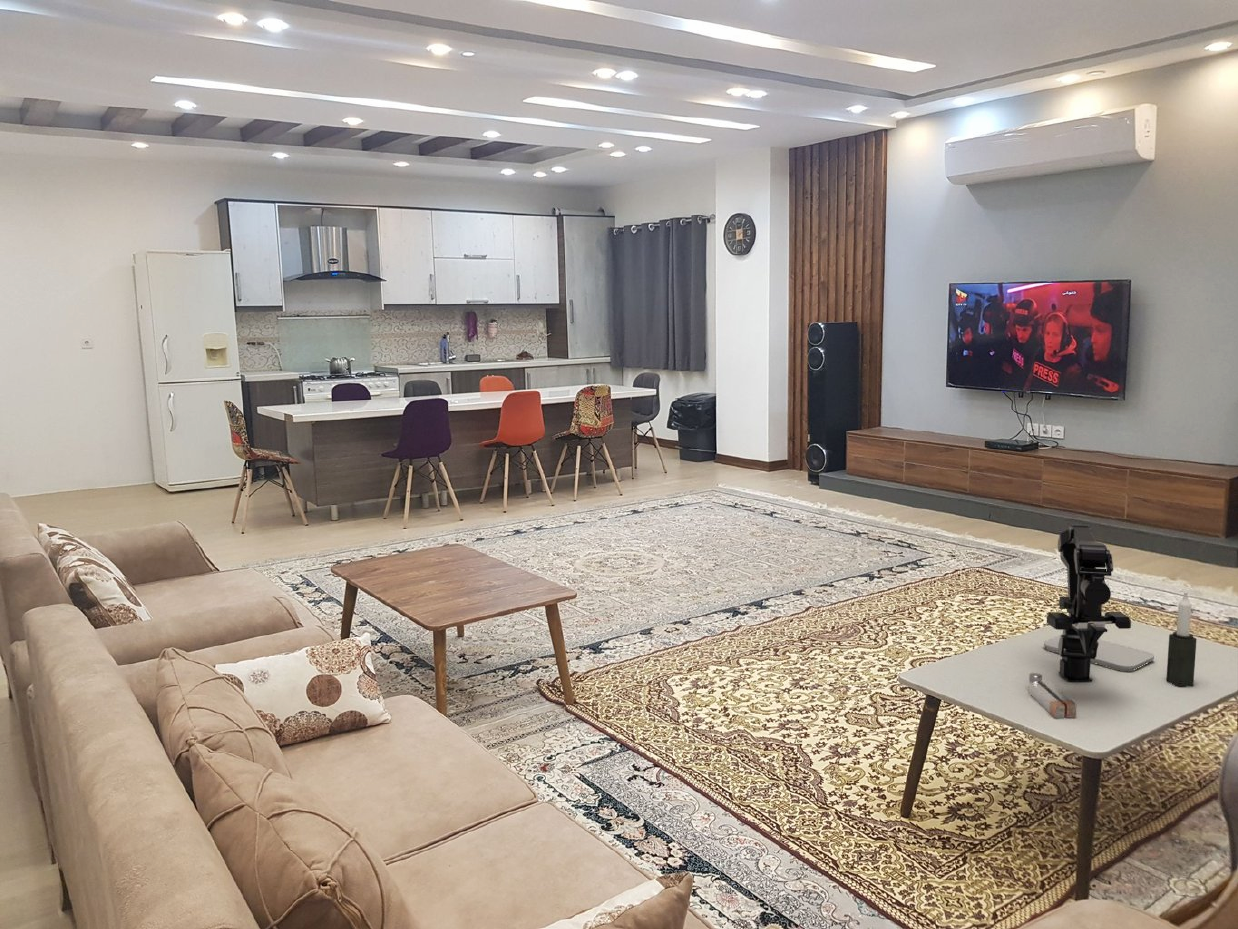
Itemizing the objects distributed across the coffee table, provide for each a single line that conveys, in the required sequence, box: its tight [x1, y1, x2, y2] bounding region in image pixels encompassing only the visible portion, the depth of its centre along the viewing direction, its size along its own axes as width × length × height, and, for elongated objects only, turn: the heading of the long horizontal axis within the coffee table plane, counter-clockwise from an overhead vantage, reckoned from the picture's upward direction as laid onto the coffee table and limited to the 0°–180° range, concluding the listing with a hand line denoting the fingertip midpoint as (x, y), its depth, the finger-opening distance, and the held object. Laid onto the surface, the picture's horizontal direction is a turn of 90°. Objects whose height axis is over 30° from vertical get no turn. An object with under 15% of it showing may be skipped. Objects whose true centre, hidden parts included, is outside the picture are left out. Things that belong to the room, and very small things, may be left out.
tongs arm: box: [1041, 679, 1078, 718], centre depth 238 cm, size 16×2×3 cm, turn 178°
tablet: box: [1043, 633, 1155, 672], centre depth 272 cm, size 16×26×2 cm, turn 35°
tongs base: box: [1028, 672, 1065, 719], centre depth 239 cm, size 20×4×4 cm, turn 179°
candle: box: [1166, 591, 1198, 688], centre depth 248 cm, size 5×5×25 cm
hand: (1086, 653), depth 240 cm, fingers closed
